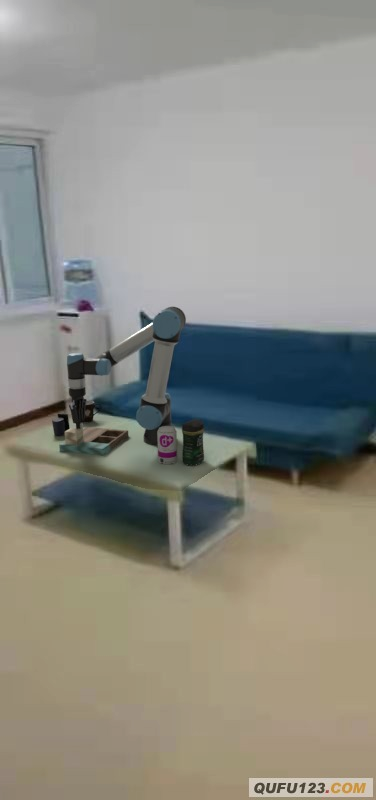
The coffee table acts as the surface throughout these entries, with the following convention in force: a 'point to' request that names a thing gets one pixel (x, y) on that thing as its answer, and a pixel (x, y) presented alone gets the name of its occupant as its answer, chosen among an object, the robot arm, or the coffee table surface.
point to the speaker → (60, 424)
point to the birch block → (73, 436)
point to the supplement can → (167, 444)
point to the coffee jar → (193, 442)
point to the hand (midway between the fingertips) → (79, 436)
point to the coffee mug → (90, 411)
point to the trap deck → (96, 441)
